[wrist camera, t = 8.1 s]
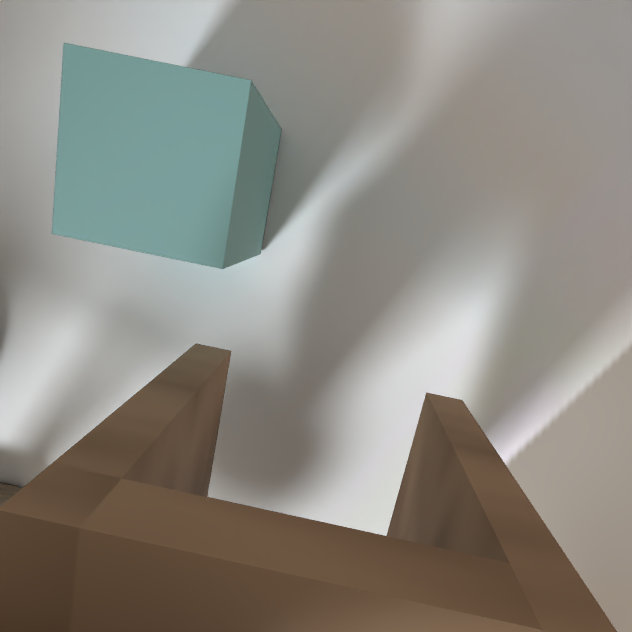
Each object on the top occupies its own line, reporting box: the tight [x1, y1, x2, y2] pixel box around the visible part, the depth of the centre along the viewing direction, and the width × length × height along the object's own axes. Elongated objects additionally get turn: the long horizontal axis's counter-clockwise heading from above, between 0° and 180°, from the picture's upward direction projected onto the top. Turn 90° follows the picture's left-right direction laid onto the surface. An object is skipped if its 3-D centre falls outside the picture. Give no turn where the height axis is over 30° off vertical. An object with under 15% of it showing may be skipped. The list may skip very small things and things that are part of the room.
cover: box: [0, 344, 617, 632], centre depth 11 cm, size 9×9×8 cm
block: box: [52, 43, 282, 269], centre depth 15 cm, size 5×5×6 cm
